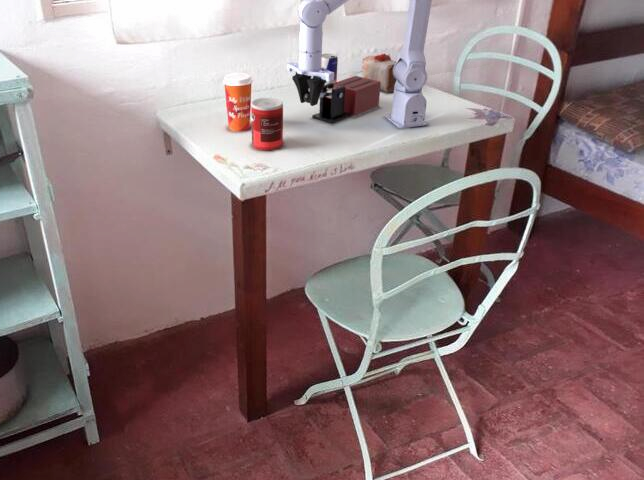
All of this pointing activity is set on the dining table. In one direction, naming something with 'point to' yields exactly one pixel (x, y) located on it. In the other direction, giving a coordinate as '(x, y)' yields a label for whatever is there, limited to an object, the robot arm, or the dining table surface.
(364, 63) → the food item
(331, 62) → the energy drink
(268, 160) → the dining table surface
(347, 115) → the lever bracket
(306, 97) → the toaster lever
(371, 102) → the toaster
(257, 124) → the canned food
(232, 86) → the paper cup
